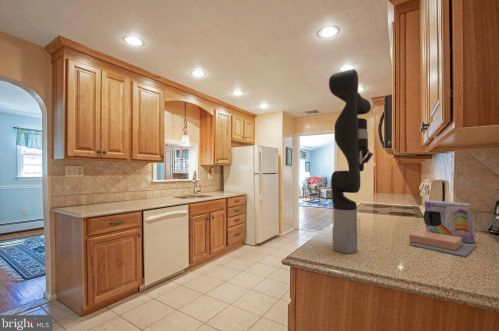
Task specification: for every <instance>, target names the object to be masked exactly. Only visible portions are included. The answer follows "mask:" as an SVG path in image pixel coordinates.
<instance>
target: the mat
mask: <svg viewBox="0 0 499 331" xmlns="http://www.w3.org/2000/svg"><path fill="white" fill-rule="evenodd" d="M409 247H415V248H419V249H422V250H423V249H425V250H428V251H434V252H438V253H443V254H448V255H452V256H457V257H462V258H467V257H468V256H469V255H470V254H471V253H472V252H473V251H474V250H475V248H477V245H474V244H469V243H466V242H462V245H461V246H460V247H459V248H458V249H456V250H455V251H454V250H449V249H444V248H439V247H434V246H429V245H424V244H419V243H414V242H410V244H409Z"/></svg>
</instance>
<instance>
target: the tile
mask: <svg viewBox="0 0 499 331" xmlns="http://www.w3.org/2000/svg"><path fill="white" fill-rule="evenodd" d="M408 237H409V238H408V240H409V242H410V243H413V242H414V243H419V244H424V245H429V246H434V247H439V248H444V249H449V250H454V251H455V250H456V249H458V248H459V247H460V246H461V245H462V243H463V241H462V237H456V236H450V235H443V234H437V233H431V232H427V231H424V230H417V231H414V232H412V233H410V234H409V236H408Z"/></svg>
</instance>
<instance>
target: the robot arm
mask: <svg viewBox="0 0 499 331" xmlns="http://www.w3.org/2000/svg"><path fill="white" fill-rule="evenodd" d="M328 89H329V91H330V92H331V94H332V95H333V96H334V97H336V98H338V99H340V101H343V102H344V103H345V106H344V107H343V109H342V111H341V112H340V114H339V115H338V116H337V119H336V121H335V122H334V141H335V143H336V146H337V147H338V148H339V150H340V151H341V153H342V154H343V156H344V158H346V159H345V160H346V162H347V166H348V170H335V171H332V172H333V173H331V177H330V185H331V186H330V187H331V202H332V211H333V212H332V213H333V216H332V217H333V218H332V220H333V224H332V250H333V251H336V252H340V253H342V254H346V255H347V254H355V253H357V252H358V210H357V208H358V206H357V202H356V201H354V200H351V199H350V198H348V197H347V196H345V195H344V193H348V194H351V193H352V194H357V193H358V192H359V191H360V189H361V172H363V171H364V170H365V166H364V165H365V164H368V162H369V161H370V159H372V157H373V156H374V153H373V152H370V149H369V135H368V134H369V133H368V120H367V119H366V118H361V117H360V118H359V117H358V115H359V116H360V115H366V114H368V113H369V112H370V111H371V109H372V104H371V102H370V101H369V100H368V99H366V98H365V97H362V95H361V94H360V93H359V74H358V72H357V70H356V69H355V68H354V69H349V70H348V69H347V70H344V71H340V72H336V73H334V74H332V75H330V77H329V80H328Z"/></svg>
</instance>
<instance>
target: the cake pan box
mask: <svg viewBox="0 0 499 331" xmlns="http://www.w3.org/2000/svg"><path fill="white" fill-rule="evenodd" d="M472 205H473V204H472V203H463V202H454V201H442V200H441V201H440V200H425V201H424V212H423V222H424V224H425V227H426V228H425V229H426V231H425V232H431V233H437V234H443V235H450V236H456V237H462V243H467V244H469V243H475V241H476V240H475V239H476V238H475V237H476V236H475V226H474V218H473V217H474V216H473V208H472V207H473V206H472Z"/></svg>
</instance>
